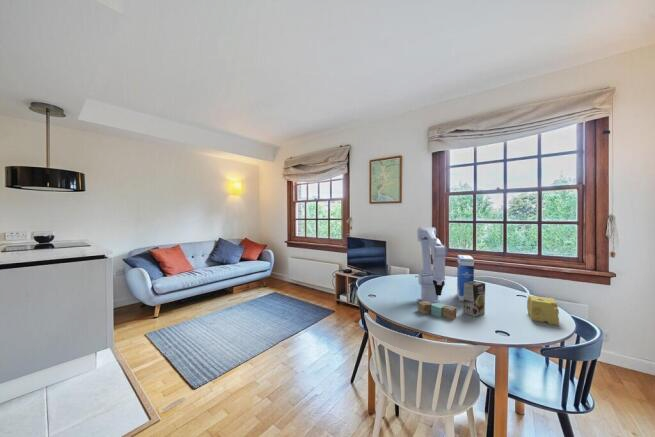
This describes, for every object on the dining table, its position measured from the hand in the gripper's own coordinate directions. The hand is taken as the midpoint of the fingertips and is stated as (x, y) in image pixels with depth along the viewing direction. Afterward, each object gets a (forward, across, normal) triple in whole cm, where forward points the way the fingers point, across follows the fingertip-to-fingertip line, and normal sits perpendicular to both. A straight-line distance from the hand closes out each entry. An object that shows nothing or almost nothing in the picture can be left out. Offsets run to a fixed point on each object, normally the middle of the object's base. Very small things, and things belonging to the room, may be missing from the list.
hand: (438, 295), depth 127 cm
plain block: (+10, 0, 0) cm, 10 cm away
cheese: (+11, -14, +48) cm, 51 cm away
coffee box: (+10, -9, +18) cm, 23 cm away
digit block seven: (+10, +1, +5) cm, 12 cm away
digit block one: (+10, -1, -6) cm, 12 cm away
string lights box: (+10, -32, +16) cm, 37 cm away
